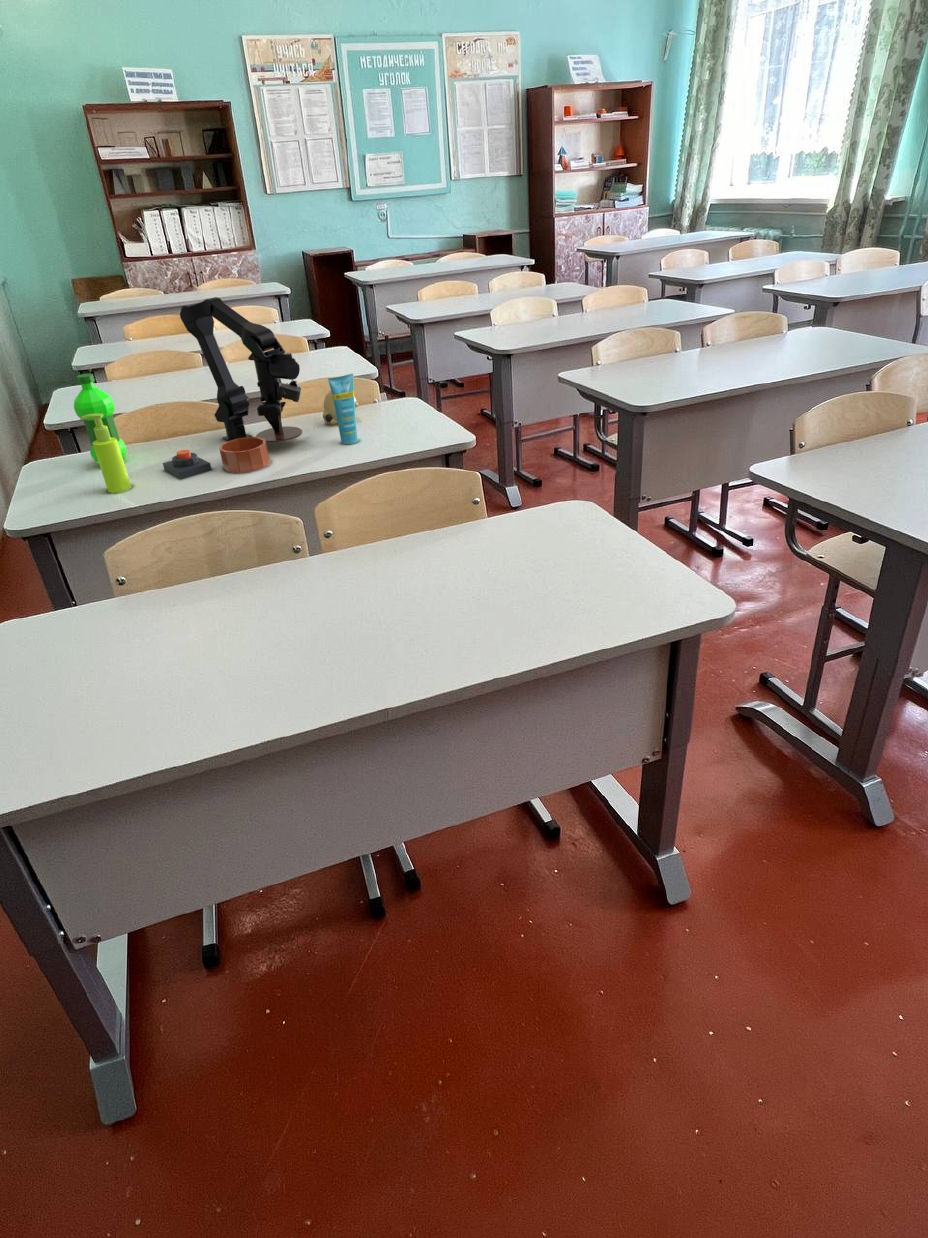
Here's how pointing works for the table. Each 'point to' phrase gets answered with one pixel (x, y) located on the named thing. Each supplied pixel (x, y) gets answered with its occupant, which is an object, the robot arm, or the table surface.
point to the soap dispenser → (109, 457)
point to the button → (183, 454)
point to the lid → (280, 434)
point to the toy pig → (331, 409)
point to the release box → (187, 466)
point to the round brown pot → (244, 455)
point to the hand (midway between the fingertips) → (278, 430)
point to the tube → (344, 407)
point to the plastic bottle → (96, 410)
